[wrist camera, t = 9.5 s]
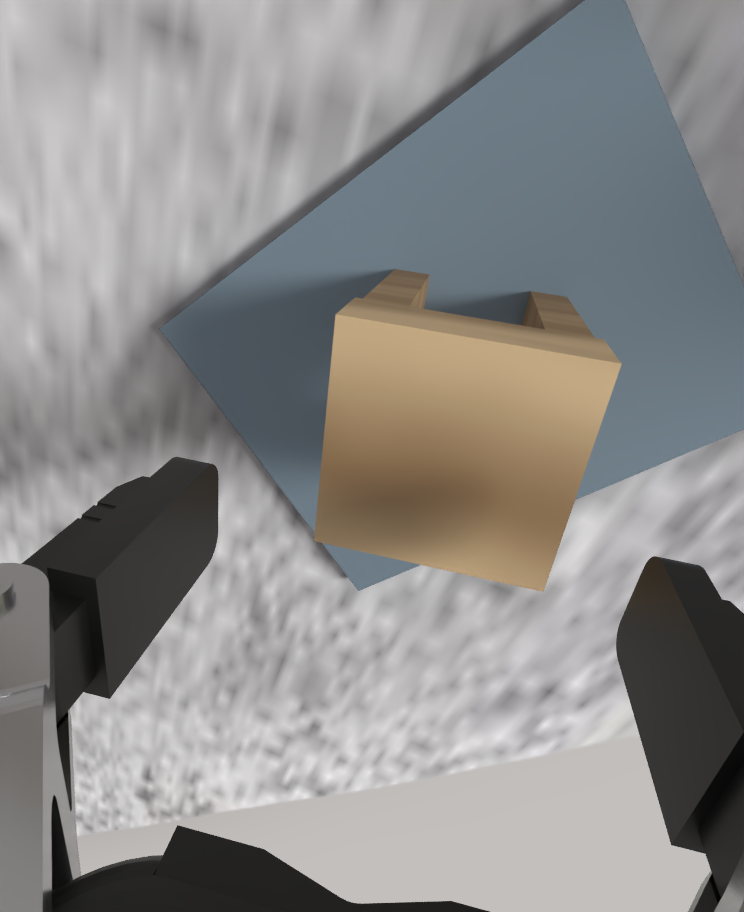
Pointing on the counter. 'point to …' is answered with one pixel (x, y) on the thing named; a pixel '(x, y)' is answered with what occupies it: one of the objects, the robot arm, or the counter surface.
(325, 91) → the counter surface
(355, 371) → the wooden stool
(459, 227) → the mat
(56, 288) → the counter surface
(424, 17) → the counter surface
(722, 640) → the robot arm
